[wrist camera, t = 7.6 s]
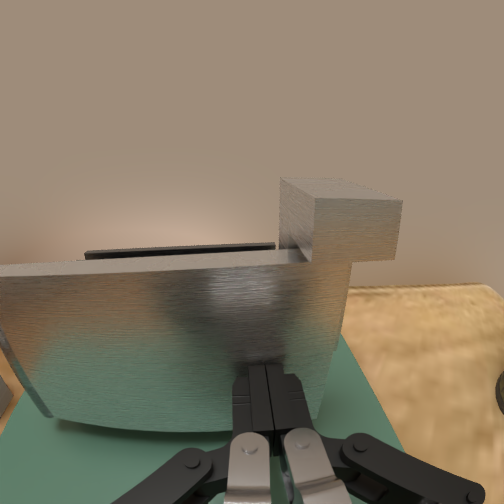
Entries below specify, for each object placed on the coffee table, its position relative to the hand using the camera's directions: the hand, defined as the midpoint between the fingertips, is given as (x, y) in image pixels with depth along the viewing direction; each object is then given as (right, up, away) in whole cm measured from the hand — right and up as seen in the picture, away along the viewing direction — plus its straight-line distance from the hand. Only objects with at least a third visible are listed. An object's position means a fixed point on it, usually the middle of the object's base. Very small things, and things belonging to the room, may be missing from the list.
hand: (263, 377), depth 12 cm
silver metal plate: (-6, -4, +2) cm, 7 cm away
